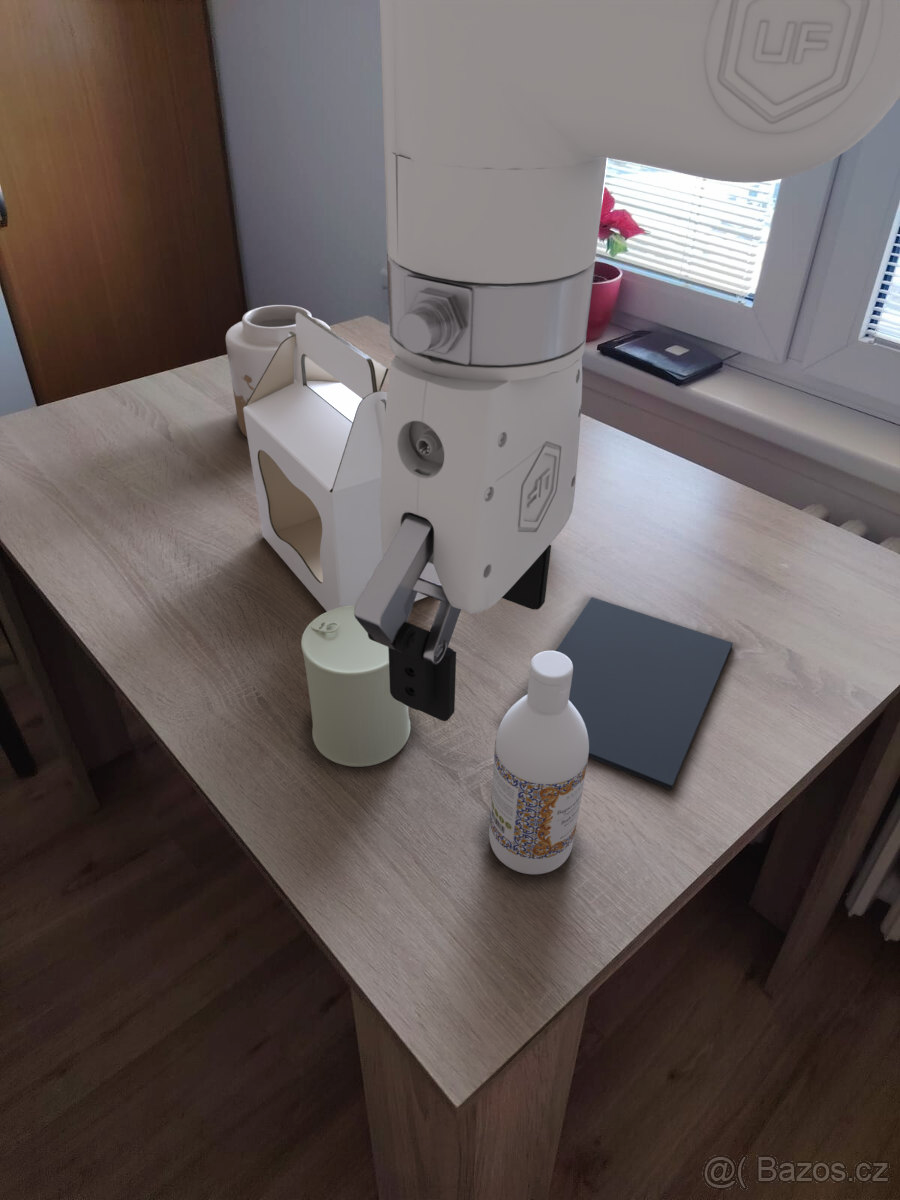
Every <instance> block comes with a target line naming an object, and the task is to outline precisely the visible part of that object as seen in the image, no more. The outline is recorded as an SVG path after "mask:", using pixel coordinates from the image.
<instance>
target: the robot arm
mask: <svg viewBox="0 0 900 1200" xmlns="http://www.w3.org/2000/svg"><path fill="white" fill-rule="evenodd" d="M379 18H380V20H379V21H380V23H379V25H380V52H381V53H380V55H381V87H382V88H381V89H382V114H383V115H382V119H383V123H382V125H383V155H384V157H383V158H384V193H385V194H384V196H385V234H386V236H385V237H386V239H385V240H386V267H387V268H386V274H387V277H386V278H387V308H388V309H387V312H388V342H389V347H390V350H391V351H392V353H393V354H394V355H395V356H394V357H393V359H392V360H391V362H390V368H389V377H388V384H387V391H386V392H387V400H386V410H385V420H384V433H383V447H382V468H381V536H382V549H383V558H382V559H381V561H380V563H379V565H378V566H377V568H376V570H375V571H374V573H373V575H372V577H371V578H370V580H369V582H368V583H367V585H366V587H365V589H364V590H363V592H362V594H361V596H360V597H359V599H358V601H357V603H356V605H355V608H354V616H355V618H356V619H357V621H358V622H359V623H360V624H361V626H362V627H363V628H364V629H365V631H366V632H367V633H368V637H369V639H371V640H373V641H375V642H377V643H380V644H382V645H385V646H387V647H388V650H389V677H390V693H391V695H392V697H393V698H394V699H396V700H397V701H399V702H402V703H403V704H405V705H406V706H408V708H411V709H413V710H416V711H418V712H422V713H423V714H426V715H428V716H430V717H433V718H435V719H437V720H439V721H442V722H447V721H448V720H450V718H451V717H452V716H453V714H454V713H455V709H456V708H455V705H456V677H457V676H456V674H457V672H456V671H457V651H456V650H454V649H453V648H451V647H450V642H451V640H452V636H453V634H454V632H455V631H454V630H455V628H456V625H457V622H458V620H459V617H460V615H461V611H464V612H466V614H471V615H476V614H480V613H482V612H485V611H486V610H489V609H490V608H491V607H493V606H494V605H496V604H497V603H498V602H499V601H500V600H502V599H503V600H505V601H508V602H511V603H514V604H516V605H518V606H522V607H524V608H527V609H530V610H534V611H537V610H540V608H542V606H543V605H544V604H545V603H546V595H547V594H546V593H547V586H548V579H549V568H550V559H551V553H552V551H551V550H552V543H553V542H554V540H555V539H556V538H557V537H558V536H559V535H560V533H561V532H562V531H563V530H564V528H565V527H566V525H567V523H568V521H569V520H570V517H571V515H572V513H573V508H574V503H575V493H576V483H577V482H576V481H577V473H578V472H577V469H578V457H579V445H580V432H581V419H582V418H581V417H582V416H581V415H582V400H583V356H584V353H585V350H586V342H587V332H588V325H589V323H588V322H589V315H590V309H591V299H592V292H593V291H592V290H593V283H594V274H595V268H596V267H595V265H596V256H597V249H598V241H599V232H600V225H601V224H600V223H601V214H602V206H603V199H604V192H605V184H606V175H607V167H608V159H611V160H616V161H621V162H627V163H631V164H636V165H637V164H638V165H641V166H647V167H651V168H655V169H656V168H657V169H660V170H665V171H670V172H674V173H679V174H684V175H689V176H693V177H698V178H703V179H707V180H714V181H720V182H729V183H730V182H731V183H745V184H748V183H764V182H772V181H777V180H783V179H786V178H787V179H788V178H790V177H794V176H797V175H801V174H804V173H806V172H809V171H811V170H812V171H813V170H815V169H817V168H819V167H821V166H823V165H826V164H827V163H829V162H831V161H833V160H834V159H836V158H837V157H839V156H840V155H842V154H844V153H846V152H847V151H848V150H850V149H851V148H852V147H853V146H855V145H856V144H857V143H858V142H860V141H861V140H863V139H864V138H865V137H866V136H867V135H868V134H869V133H870V132H871V131H872V130H873V129H874V128H875V127H876V126H877V125H878V124H879V123H880V122H881V121H882V120H883V118H884V117H885V116H886V115H887V113H888V112H890V110H891V109H892V108H893V106H894V105H895V104H896V103H897V101H900V0H379ZM427 563H431V564H434V567H435V570H436V572H437V575H438V578H439V580H440V583H441V584H438V583H436V582H433V581H430V580H428V579H425V578H422V577H420V575H421V574H422V572H423V570H424V568H425V566H426V565H427ZM417 592H418V593H421V594H423V595H426V596H428V597H429V598H432V599H433V600H436V601H439V604H438V607H437V610H436V613H435V616H434V619H433V621H432V624H431V627H430V630H428V629H425V628H423V627H420V626H418V625H416V624H412V623H411V622H409V621H408V620H409V617H410V614H411V613H412V609H413V606H414V604H415V602H416V601H415V598H416V595H417ZM428 597H427V598H428ZM414 601H415V602H414Z"/></svg>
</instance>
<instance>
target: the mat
mask: <svg viewBox="0 0 900 1200" xmlns="http://www.w3.org/2000/svg"><path fill="white" fill-rule="evenodd" d="M733 645H734V643H733V642H731V641H729V640H726V639H723V638H720V637H716V636H713V635H710V634H707V633H704V632H701V631H698V630H694V629H692V628H689V627H685V626H683V625H679V624H677V623H674V622H671V621H667V620H664V619H661V618H657V617H654V616H651V615H649V614H645V613H643V612H640V611H636V610H634V609H630V608H627V607H624V606H621V605H618V604H614V603H612V602H609V601H606V600H603V599H600V598H596V597H593V596H592V597H590V599H589V600H588V602H587V603H586V604H585V606H584V608H583V609H582V610H581V612H580V614H579V615H578V617H577V618H576V619H575V621H574V623H572V626H571V627H570V629H569V630H568V631H567V633H566V635H565V636H564V637H563V639H562V640H561V642H560V643H559V645H558V647H557V648H556V650H555V651H557V652H560V653H562V654H564V655H566V656H567V657H568V658H569V659H570V660H571V662H572V664H573V674H572V681H571V688H570V694H569V701H570V702H571V703H572V704H573V705H574V707H575V708H576V709H577V711H578V712H579V714H580V715H581V717H582V719H583V721H584V723H585V726H586V729H587V734H588V740H589V757H588V758H590V759H593V760H595V761H597V762H600V763H603V764H605V765H607V766H610V767H613V768H615V769H618V770H620V771H623V772H625V773H628V774H630V775H633V776H635V777H638V778H640V779H643V780H644V781H647V782H650V783H653V784H655V785H657V786H659V787H662V788H665V789H667V790H670V791H671V790H673V787H674V785H675V782H676V780H677V777H678V776H679V773H680V771H681V768H682V767H683V764H684V761H685V758H686V757H687V754H688V753H689V752H688V751H689V749H690V747H691V744H692V742H693V740H694V738H695V735H696V733H697V730H698V728H699V727H700V723H701V721H702V718H703V717H704V714H705V711H706V709H707V707H708V704H709V702H710V700H711V698H712V695H713V693H714V690H715V688H716V685H717V683H718V681H719V678H720V676H721V673H722V671H723V669H724V667H725V664H726V662H727V659H728V657H729V655H730V653H731V650H732V648H733ZM527 694H528V691H527V692H526V693H525V695H527Z"/></svg>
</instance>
